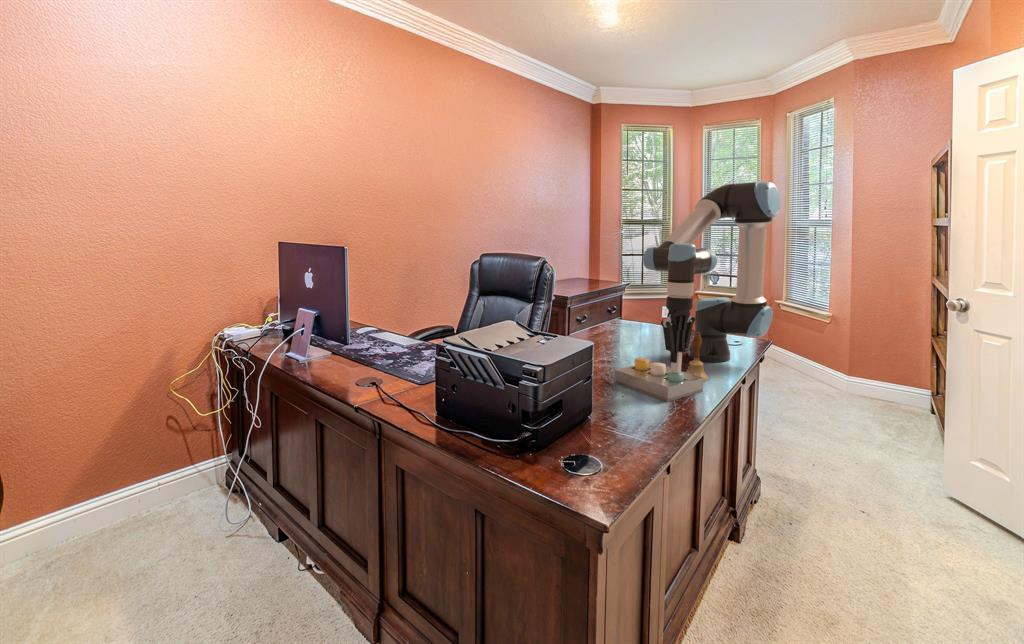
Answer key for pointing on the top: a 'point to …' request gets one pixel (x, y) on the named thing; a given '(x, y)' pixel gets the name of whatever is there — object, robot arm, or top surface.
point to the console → (658, 383)
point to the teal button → (675, 377)
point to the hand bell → (697, 359)
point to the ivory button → (658, 369)
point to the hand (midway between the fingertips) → (675, 372)
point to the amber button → (641, 364)
